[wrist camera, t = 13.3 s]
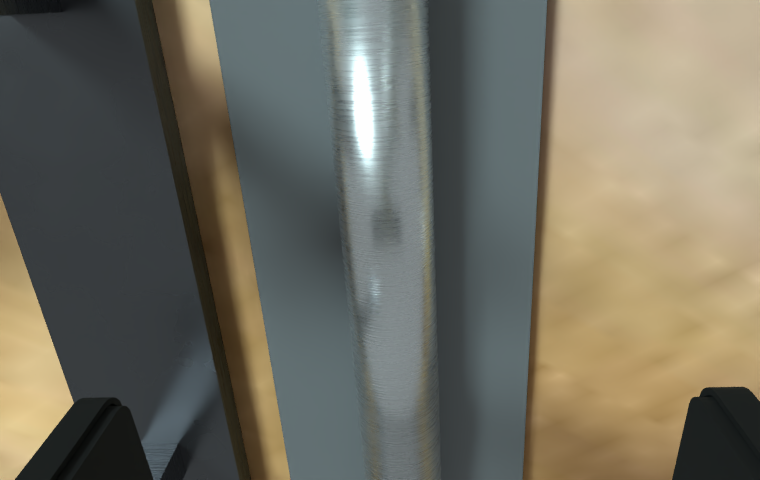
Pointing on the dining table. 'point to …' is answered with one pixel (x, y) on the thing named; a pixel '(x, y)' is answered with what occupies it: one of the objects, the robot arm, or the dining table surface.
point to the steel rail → (386, 225)
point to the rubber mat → (451, 225)
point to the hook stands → (115, 226)
